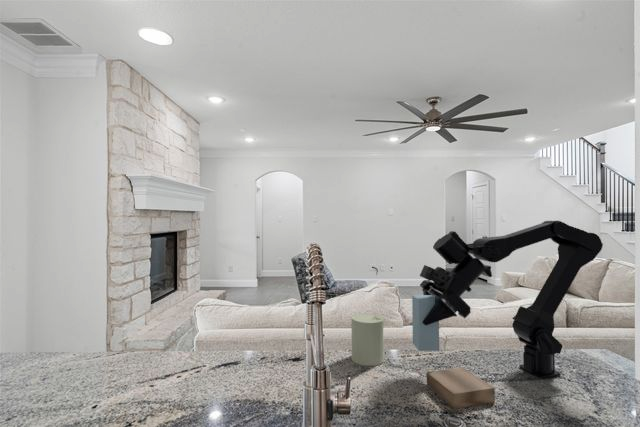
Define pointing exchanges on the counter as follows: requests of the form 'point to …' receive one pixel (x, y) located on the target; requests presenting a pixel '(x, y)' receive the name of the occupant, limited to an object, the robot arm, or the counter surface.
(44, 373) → the counter surface
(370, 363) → the can
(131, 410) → the counter surface
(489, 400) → the slab
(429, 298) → the block
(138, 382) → the counter surface
